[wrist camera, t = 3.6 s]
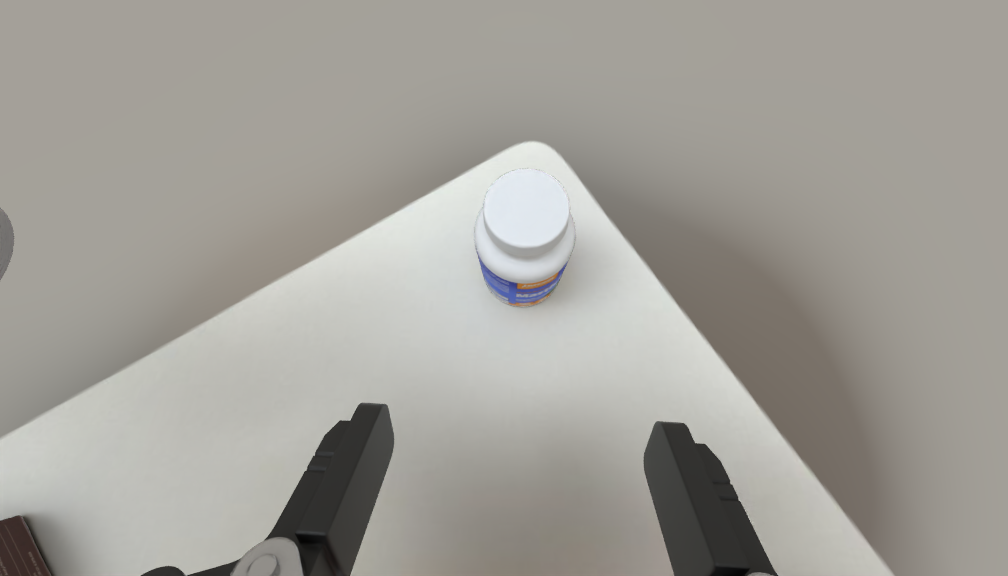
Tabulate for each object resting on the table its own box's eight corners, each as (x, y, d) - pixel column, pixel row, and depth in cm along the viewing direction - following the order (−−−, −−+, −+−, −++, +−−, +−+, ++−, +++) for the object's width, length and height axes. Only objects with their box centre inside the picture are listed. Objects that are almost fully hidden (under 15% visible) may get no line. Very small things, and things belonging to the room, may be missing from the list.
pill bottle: (521, 324, 25) (526, 290, 15) (467, 269, 26) (441, 207, 17) (576, 270, 26) (612, 208, 16) (522, 220, 27) (527, 133, 17)
